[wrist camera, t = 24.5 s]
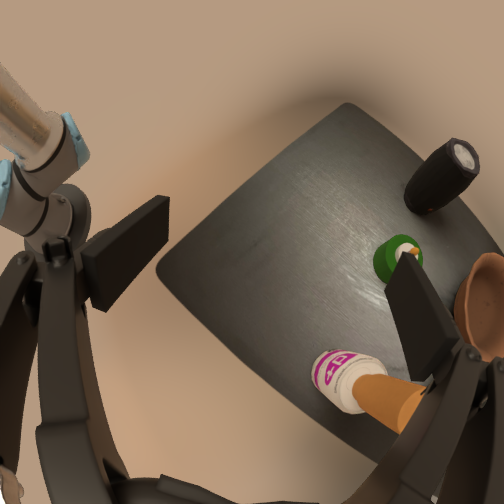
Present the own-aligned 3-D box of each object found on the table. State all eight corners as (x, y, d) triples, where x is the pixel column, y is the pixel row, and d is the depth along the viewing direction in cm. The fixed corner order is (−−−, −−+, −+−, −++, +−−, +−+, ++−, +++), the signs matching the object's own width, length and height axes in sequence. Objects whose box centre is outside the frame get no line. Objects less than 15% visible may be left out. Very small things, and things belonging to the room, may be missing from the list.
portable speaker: (429, 225, 51) (484, 186, 32) (396, 204, 52) (445, 155, 33) (435, 196, 52) (484, 154, 34) (404, 175, 54) (447, 124, 35)
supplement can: (301, 368, 44) (322, 386, 29) (338, 339, 45) (372, 343, 30) (326, 401, 42) (355, 428, 27) (362, 372, 43) (402, 386, 29)
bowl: (475, 373, 41) (507, 375, 31) (417, 339, 44) (451, 340, 34) (499, 289, 46) (528, 280, 36) (447, 246, 49) (477, 230, 39)
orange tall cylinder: (347, 408, 28) (394, 445, 16) (348, 373, 30) (399, 395, 17) (381, 401, 28) (438, 429, 16) (382, 367, 30) (443, 381, 17)
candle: (366, 250, 49) (389, 233, 39) (399, 238, 50) (424, 220, 40) (382, 290, 47) (408, 282, 37) (413, 276, 48) (442, 264, 38)
